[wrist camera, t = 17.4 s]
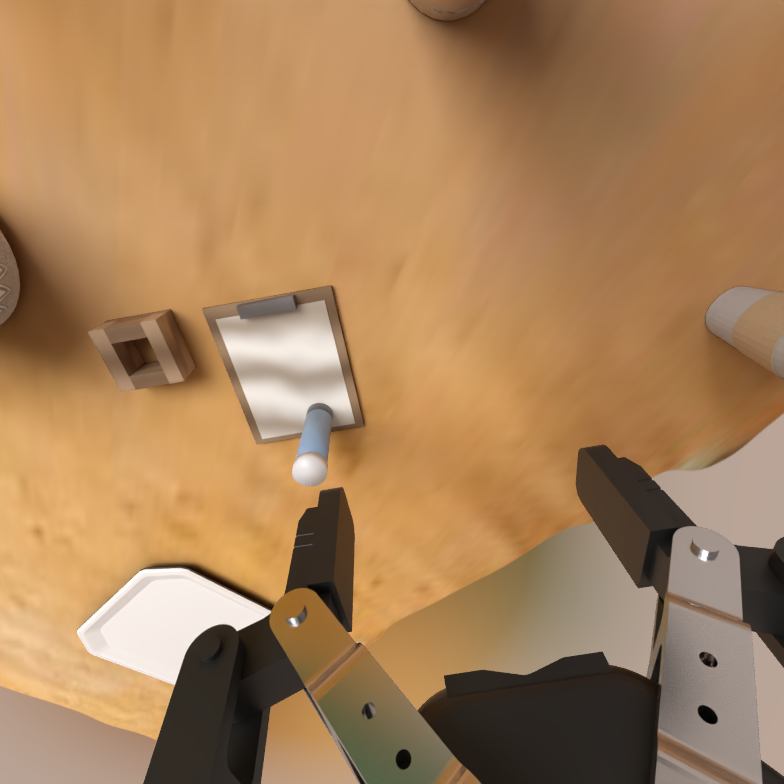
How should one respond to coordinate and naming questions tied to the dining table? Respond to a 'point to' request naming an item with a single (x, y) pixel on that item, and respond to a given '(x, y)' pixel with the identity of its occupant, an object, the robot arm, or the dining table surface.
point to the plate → (163, 619)
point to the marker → (314, 446)
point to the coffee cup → (751, 324)
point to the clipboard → (286, 361)
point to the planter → (8, 280)
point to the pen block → (127, 360)
